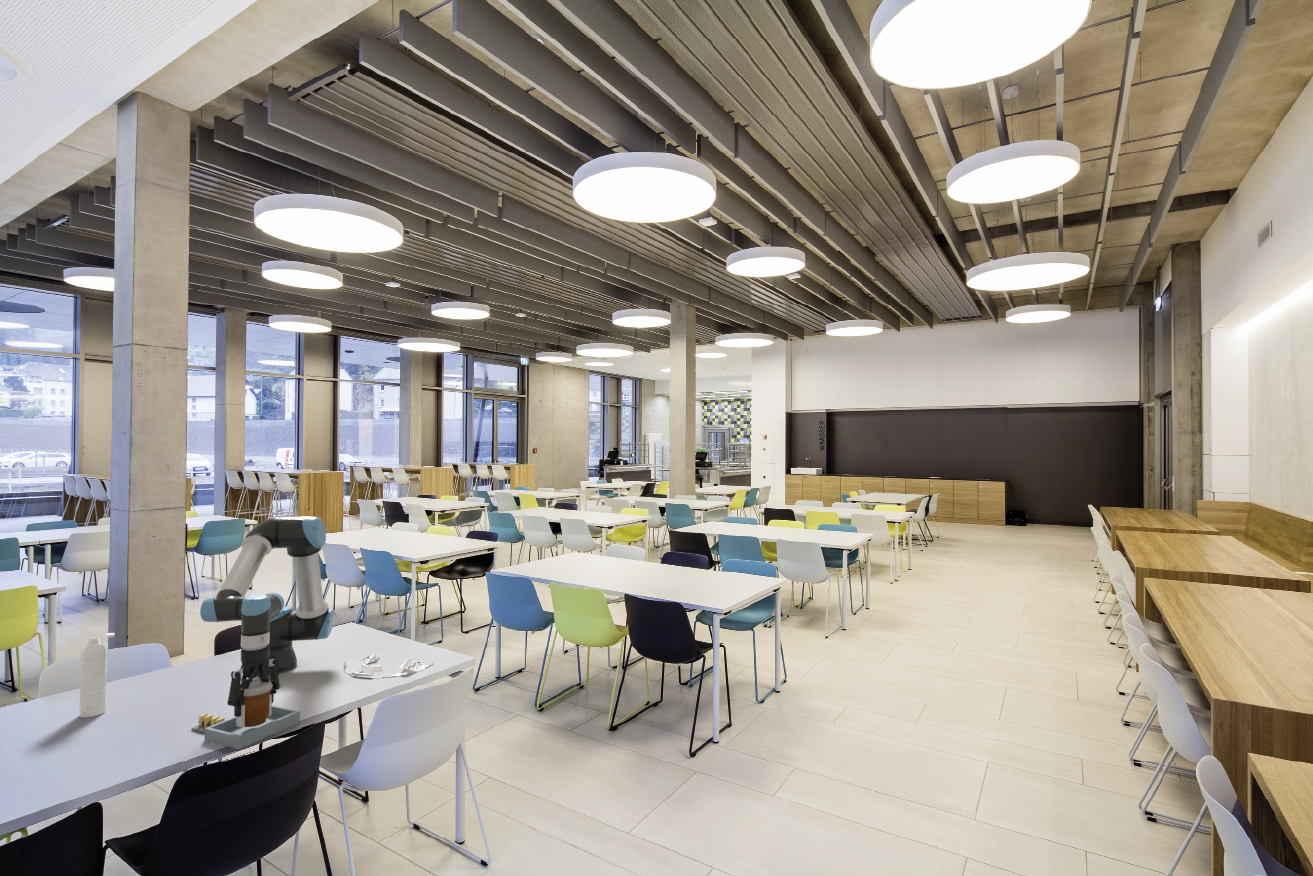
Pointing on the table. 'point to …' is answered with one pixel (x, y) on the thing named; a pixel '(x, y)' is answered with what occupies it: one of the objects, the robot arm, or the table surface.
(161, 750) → the table surface
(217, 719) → the clip
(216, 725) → the shallow rectangular grey tray
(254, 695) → the disposable coffee cup
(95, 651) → the water bottle
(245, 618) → the robot arm
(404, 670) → the cable organizer
